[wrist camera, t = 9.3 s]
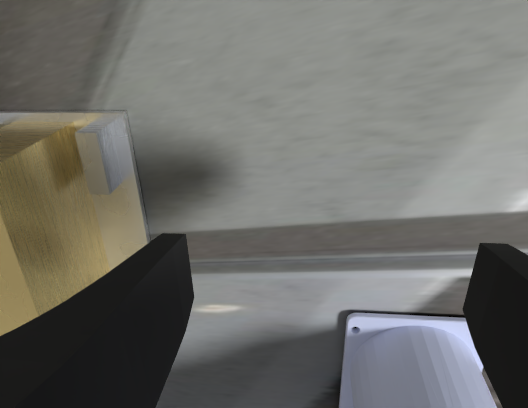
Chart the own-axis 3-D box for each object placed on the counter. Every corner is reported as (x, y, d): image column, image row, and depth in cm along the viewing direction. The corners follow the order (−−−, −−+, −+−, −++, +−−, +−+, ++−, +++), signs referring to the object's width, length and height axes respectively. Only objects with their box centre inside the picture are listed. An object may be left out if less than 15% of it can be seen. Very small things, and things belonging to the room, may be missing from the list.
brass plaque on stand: (123, 327, 25) (75, 416, 20) (77, 324, 26) (17, 411, 20) (73, 121, 19) (-16, 171, 14) (14, 121, 20) (-95, 170, 14)
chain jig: (166, 331, 26) (156, 355, 24) (54, 325, 26) (36, 347, 25) (126, 110, 19) (109, 121, 18) (-22, 110, 20) (-52, 121, 18)
